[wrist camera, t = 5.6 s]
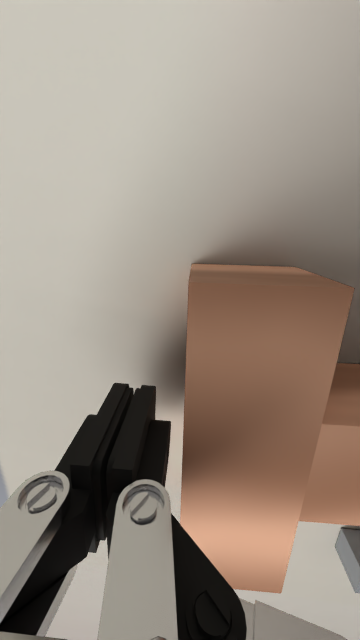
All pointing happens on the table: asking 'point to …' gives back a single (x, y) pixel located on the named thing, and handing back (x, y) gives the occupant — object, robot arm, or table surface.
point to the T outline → (350, 555)
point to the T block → (266, 416)
